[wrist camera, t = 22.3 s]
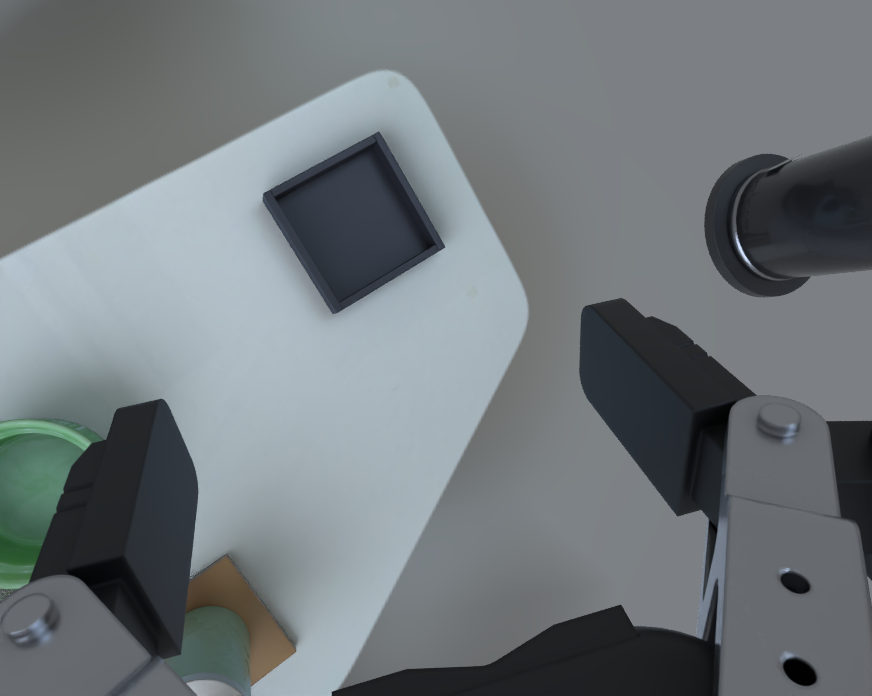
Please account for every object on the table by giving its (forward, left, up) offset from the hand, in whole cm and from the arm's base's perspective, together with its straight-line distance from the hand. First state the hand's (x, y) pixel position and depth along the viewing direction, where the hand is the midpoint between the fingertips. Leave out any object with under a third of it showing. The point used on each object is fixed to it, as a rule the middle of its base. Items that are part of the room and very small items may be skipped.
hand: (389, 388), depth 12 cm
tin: (+1, +19, -29) cm, 35 cm away
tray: (-2, -9, -30) cm, 32 cm away
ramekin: (+12, +11, -30) cm, 34 cm away
